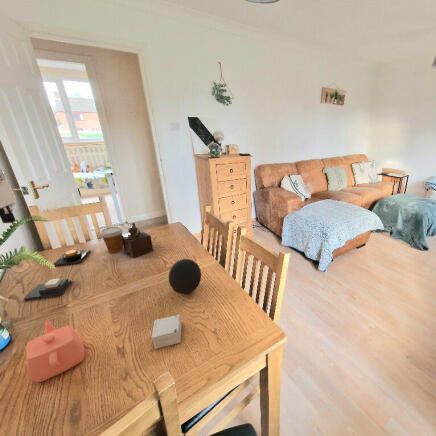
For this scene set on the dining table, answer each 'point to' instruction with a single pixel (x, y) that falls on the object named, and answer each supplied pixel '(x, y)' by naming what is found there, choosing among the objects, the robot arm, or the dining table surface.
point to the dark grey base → (48, 291)
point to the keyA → (52, 283)
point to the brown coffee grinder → (136, 242)
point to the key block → (72, 258)
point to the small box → (166, 331)
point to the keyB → (71, 253)
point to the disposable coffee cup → (112, 239)
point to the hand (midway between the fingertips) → (9, 222)
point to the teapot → (53, 352)
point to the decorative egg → (184, 276)
